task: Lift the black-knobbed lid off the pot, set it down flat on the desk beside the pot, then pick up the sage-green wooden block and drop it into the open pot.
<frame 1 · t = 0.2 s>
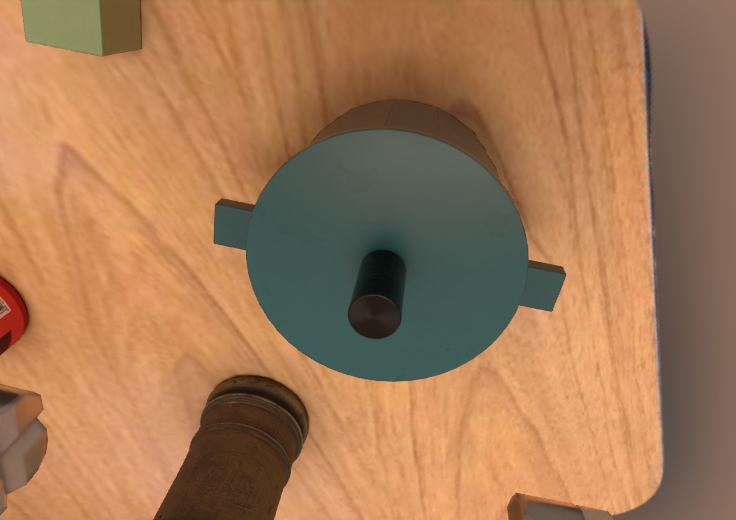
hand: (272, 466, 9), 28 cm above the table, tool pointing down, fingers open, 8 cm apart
lid: (384, 264, 28), point 9 cm above the table, touching pot
container: (260, 413, 47), on the table
pot: (396, 201, 37), on the table
block: (105, 3, 33), on the table
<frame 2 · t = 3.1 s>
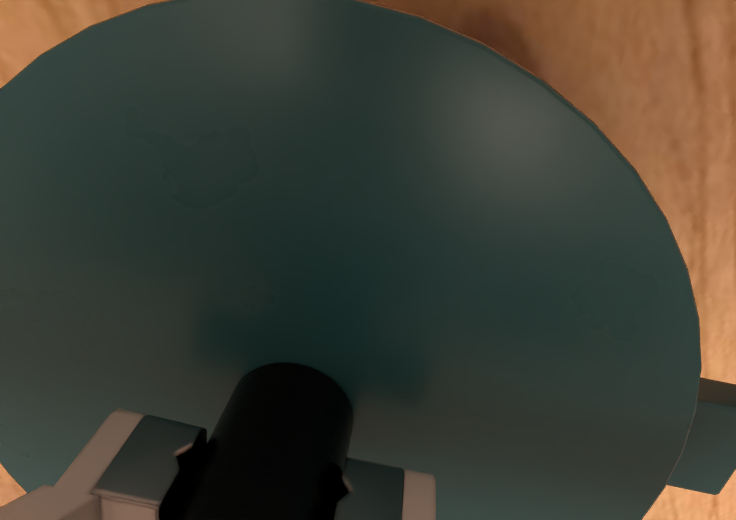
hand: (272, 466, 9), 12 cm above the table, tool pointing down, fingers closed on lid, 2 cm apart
lid: (300, 390, 11), point 9 cm above the table, touching gripper, pot
pot: (358, 217, 19), on the table
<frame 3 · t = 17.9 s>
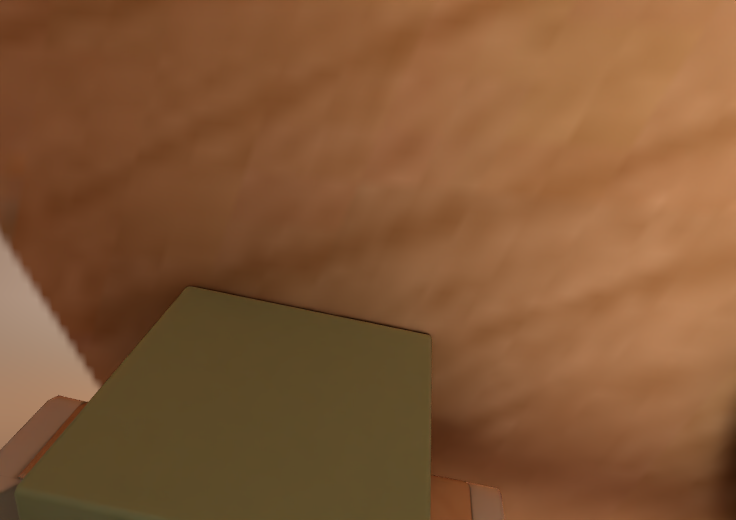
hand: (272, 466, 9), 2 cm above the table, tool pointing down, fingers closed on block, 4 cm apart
block: (296, 403, 11), on the table, touching gripper
when the fingers open (11 cm above the table, at t = 24.7 s): block drops 9 cm, resting on pot.
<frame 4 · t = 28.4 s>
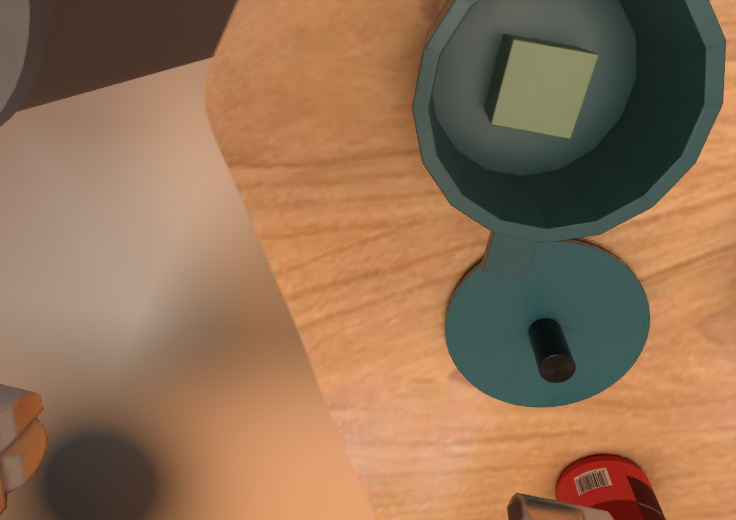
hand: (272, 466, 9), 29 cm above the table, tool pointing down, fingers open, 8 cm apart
lid: (543, 326, 40), point 1 cm above the table
pot: (529, 78, 33), on the table
canned food: (598, 482, 47), on the table
block: (529, 79, 33), resting on pot
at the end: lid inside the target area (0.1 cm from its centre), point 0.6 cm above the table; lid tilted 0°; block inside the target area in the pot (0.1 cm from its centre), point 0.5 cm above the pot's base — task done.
